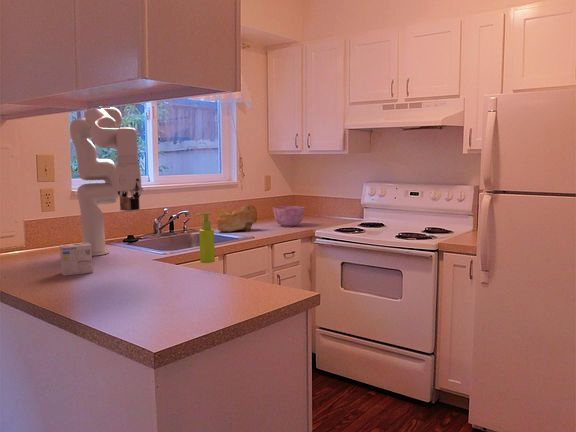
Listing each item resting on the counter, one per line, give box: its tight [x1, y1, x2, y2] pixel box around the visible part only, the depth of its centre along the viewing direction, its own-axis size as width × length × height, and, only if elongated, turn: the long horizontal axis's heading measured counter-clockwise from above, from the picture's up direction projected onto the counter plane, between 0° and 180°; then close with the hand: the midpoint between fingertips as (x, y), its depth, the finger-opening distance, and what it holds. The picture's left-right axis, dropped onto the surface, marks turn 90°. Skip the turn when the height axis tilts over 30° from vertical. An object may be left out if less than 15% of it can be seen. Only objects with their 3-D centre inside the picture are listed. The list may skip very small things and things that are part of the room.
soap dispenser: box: [195, 212, 216, 264], centre depth 210 cm, size 6×7×20 cm
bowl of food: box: [272, 205, 306, 228], centre depth 318 cm, size 20×20×12 cm
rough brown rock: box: [216, 204, 258, 233], centre depth 302 cm, size 23×17×15 cm
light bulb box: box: [59, 242, 94, 277], centre depth 193 cm, size 11×7×11 cm, turn 119°
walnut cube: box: [119, 195, 141, 212], centre depth 197 cm, size 5×5×5 cm
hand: (130, 208), depth 197 cm, fingers closed on walnut cube, 5 cm apart
